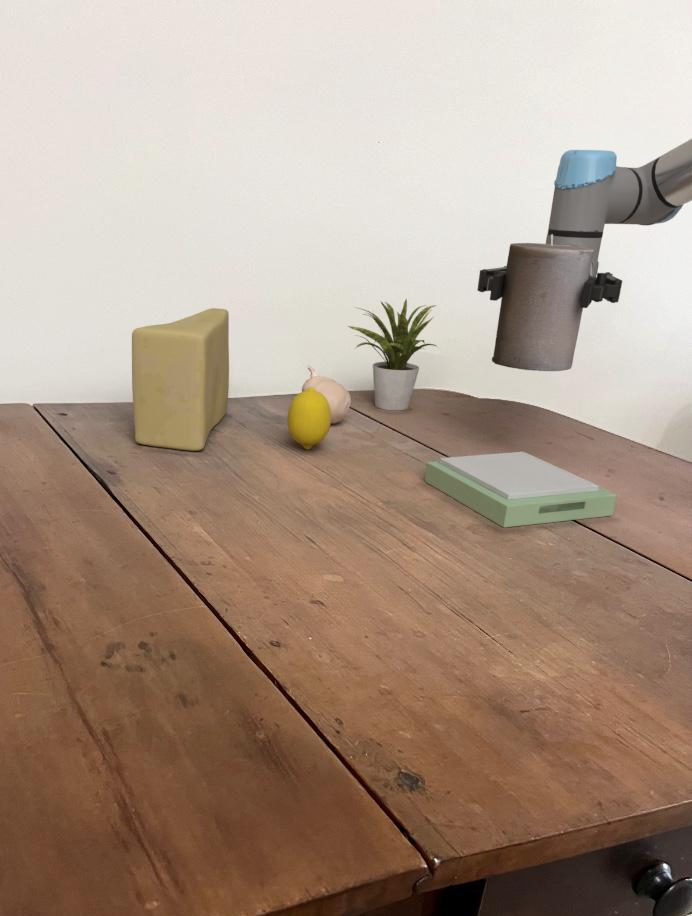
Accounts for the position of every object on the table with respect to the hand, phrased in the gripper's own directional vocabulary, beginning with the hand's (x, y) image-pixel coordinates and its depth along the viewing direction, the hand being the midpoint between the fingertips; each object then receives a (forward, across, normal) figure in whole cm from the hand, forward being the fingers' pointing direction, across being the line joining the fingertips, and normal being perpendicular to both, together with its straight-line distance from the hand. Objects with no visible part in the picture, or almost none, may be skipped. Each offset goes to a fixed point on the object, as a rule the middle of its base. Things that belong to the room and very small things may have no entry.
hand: (539, 291), depth 106 cm
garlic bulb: (-9, +28, -21) cm, 36 cm away
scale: (+12, -2, -21) cm, 24 cm away
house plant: (-25, +22, -21) cm, 40 cm away
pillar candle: (-4, 0, -9) cm, 10 cm away
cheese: (+4, +42, -21) cm, 47 cm away
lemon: (+6, +25, -21) cm, 33 cm away
